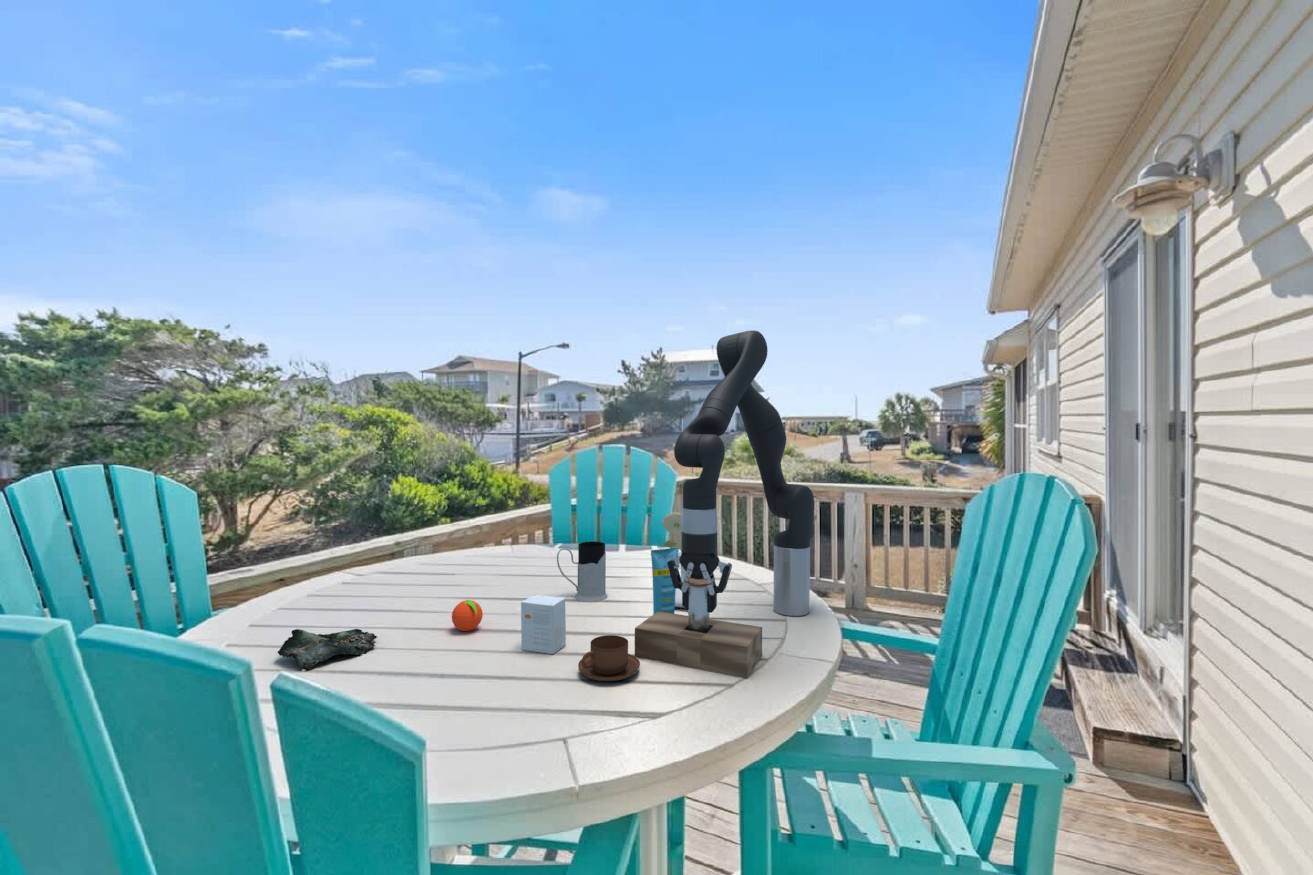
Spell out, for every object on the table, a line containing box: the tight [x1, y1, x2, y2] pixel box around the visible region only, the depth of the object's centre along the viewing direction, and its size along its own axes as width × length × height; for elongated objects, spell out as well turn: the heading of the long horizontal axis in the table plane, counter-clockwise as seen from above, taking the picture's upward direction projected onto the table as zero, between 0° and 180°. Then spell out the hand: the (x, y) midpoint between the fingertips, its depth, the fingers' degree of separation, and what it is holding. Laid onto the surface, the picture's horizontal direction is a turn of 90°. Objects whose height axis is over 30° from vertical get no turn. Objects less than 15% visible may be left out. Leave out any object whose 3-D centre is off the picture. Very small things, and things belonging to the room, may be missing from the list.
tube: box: [650, 546, 680, 615], centre depth 134 cm, size 7×5×19 cm, turn 123°
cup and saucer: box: [577, 634, 641, 682], centre depth 110 cm, size 12×12×6 cm
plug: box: [687, 577, 711, 633], centre depth 118 cm, size 5×5×14 cm
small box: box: [520, 594, 567, 655], centre depth 122 cm, size 8×6×10 cm
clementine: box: [451, 599, 484, 632], centre depth 132 cm, size 8×7×7 cm
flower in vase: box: [661, 511, 686, 609], centre depth 153 cm, size 13×11×25 cm
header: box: [634, 611, 763, 679], centre depth 118 cm, size 12×24×6 cm, turn 66°
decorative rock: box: [276, 628, 378, 672], centre depth 120 cm, size 19×6×15 cm
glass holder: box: [556, 541, 608, 603], centre depth 159 cm, size 9×14×15 cm, turn 89°
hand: (699, 609), depth 118 cm, fingers closed on plug, 4 cm apart
